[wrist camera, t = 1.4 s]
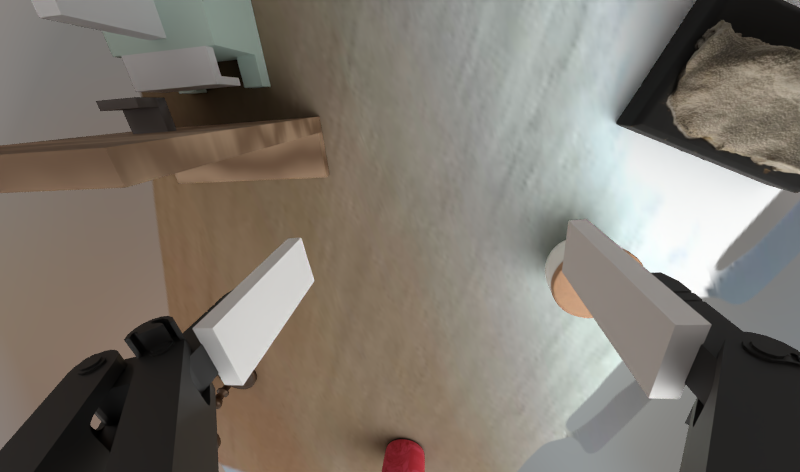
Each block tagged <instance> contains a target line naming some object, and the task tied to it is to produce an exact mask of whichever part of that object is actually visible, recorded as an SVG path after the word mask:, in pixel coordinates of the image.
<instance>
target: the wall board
mask: <svg viewBox="0 0 800 472" xmlns="http://www.w3.org/2000/svg"><path fill="white" fill-rule="evenodd" d="M96 102H97V104H98V107H99V109H100V111H112V110H123V112H124V114H125V117H126V119H127V121H128V123H129V126H130V128H131V130H132V132H125V133H115V134H105V135H96V136H86V137H77V138H68V139H58V140H49V141H39V142H30V143H20V144H11V145H2V146H0V193H10V192H33V191H57V190H80V189H103V188H125V187H129V186H133V185H136V184H140V183H143V182H147V181H150V180H154V179H157V178H161V177H164V176H168V175H172V174H175V176H176V178H177V181H178V183H179V184H184V183H206V182H229V181H252V180H275V179H298V178H320V177H327V176H329V175H330V174H329V168H328V163H327V157H326V151H325V146H324V140H323V134H322V129H321V123H320V117H307V118H294V119H280V120H267V121H254V122H240V123H227V124H214V125H200V126H187V127H175V124H174V122H173V119H172V117H171V114H170V111H169V109H168V106H167V103H166V101H165V98H140V97H137V98H136V97H134V98H125V99H113V100H102V101H96Z"/></svg>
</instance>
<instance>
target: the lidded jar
mask: <svg viewBox="0 0 800 472" xmlns="http://www.w3.org/2000/svg"><path fill="white" fill-rule="evenodd" d="M565 243H566V240H564V241H562V242H561V243H559V244H558V245H557V246H556V247H554V249H553V250H552V251H551V252H550V254H549V256H548V258H547V260H546V265H545V276H546V281H547V283H548V286H549V288H550V290H551V292H552V295H553V297H554V299H555V301H556V302H557V304H558V305H559V306H560V307H561V308H562V309H563V310H564V311H566V312H567V313H570V314H572V315H575V316H578V317H583V318H593V316H592V315H591V313H590V312H589V310H588V309H587V307H586V306H585V305H584V303H583V302H582V300H581V299H580V297H579V296H578V294H577V293H576V291H575V290H574V289H573V287H572V286H571V284H570V283H569V281H568V280H567V278H566V277H565V275H564V274H563V273H562V266H563V258H564V251H565ZM617 245H618V244H617ZM618 246H619V245H618ZM619 247H621V246H619ZM621 248H622V247H621ZM622 249H623V248H622ZM623 250H624V251H625V252H627V253H628V254H629V255H630V256H631V257H632V258H634V259H635V260H636V261H637V262H638V263H640V264H641V265H642V263H641V262H640V261H639V259H638V258H637V257H635V256H634V255H633V254H631V253H630V252H629V251H627V250H625V249H623ZM642 266H643V265H642Z"/></svg>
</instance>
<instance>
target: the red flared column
mask: <svg viewBox="0 0 800 472" xmlns="http://www.w3.org/2000/svg"><path fill="white" fill-rule="evenodd" d="M382 472H425V456H424V451H423V449H422V448H421V446H420V445H418V444H417V443H415V442H413V441H411V440H406V439H398V440H394V441H392V442H390V443H389V444H388V446H387V448H386V452H385V457H384V462H383V468H382Z"/></svg>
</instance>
